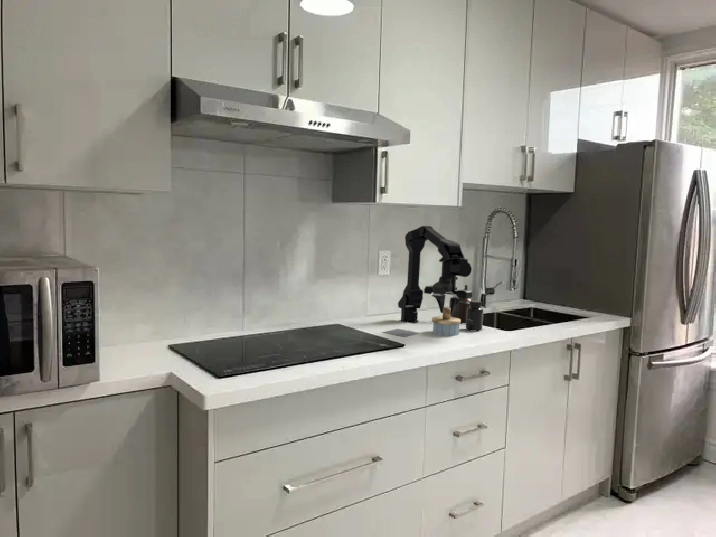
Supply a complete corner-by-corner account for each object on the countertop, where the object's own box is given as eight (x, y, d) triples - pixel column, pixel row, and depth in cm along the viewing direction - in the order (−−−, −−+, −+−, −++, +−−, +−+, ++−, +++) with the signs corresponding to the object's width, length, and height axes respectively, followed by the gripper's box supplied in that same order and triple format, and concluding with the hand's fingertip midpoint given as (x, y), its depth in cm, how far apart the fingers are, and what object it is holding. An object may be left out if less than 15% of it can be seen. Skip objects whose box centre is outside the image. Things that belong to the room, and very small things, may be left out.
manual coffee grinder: (464, 318, 256) (466, 280, 255) (480, 322, 246) (483, 282, 245) (437, 320, 249) (439, 280, 247) (453, 324, 239) (455, 283, 237)
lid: (426, 321, 215) (427, 307, 215) (441, 318, 224) (441, 304, 224) (451, 325, 208) (452, 311, 208) (465, 322, 217) (466, 308, 216)
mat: (381, 333, 213) (381, 332, 213) (397, 330, 221) (397, 328, 221) (404, 338, 206) (405, 336, 206) (420, 334, 214) (420, 333, 214)
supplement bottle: (465, 330, 226) (466, 301, 225) (465, 327, 233) (467, 299, 232) (482, 332, 225) (483, 303, 224) (482, 328, 231) (484, 300, 230)
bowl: (428, 334, 216) (428, 321, 215) (441, 330, 224) (441, 318, 223) (450, 338, 210) (451, 325, 209) (463, 334, 217) (463, 322, 217)
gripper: (417, 273, 214) (415, 312, 216) (460, 277, 202) (457, 319, 204) (432, 271, 223) (430, 309, 224) (474, 276, 211) (471, 316, 212)
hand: (446, 313), depth 216 cm, fingers open, 4 cm apart
